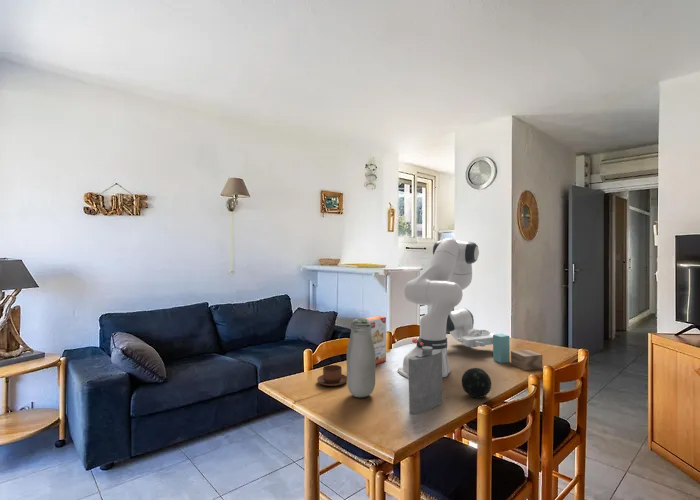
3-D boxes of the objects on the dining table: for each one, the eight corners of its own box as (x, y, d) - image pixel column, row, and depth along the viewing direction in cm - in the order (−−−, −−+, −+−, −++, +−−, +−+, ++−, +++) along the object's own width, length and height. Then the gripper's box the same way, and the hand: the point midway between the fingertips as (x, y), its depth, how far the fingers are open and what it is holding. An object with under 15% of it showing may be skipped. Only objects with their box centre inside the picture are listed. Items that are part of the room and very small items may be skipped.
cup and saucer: (311, 383, 155) (311, 367, 155) (335, 376, 163) (334, 361, 163) (329, 391, 146) (329, 374, 146) (353, 383, 153) (353, 368, 153)
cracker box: (367, 368, 172) (366, 320, 172) (357, 365, 177) (356, 319, 176) (387, 360, 182) (386, 316, 182) (377, 358, 187) (376, 315, 186)
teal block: (500, 363, 176) (500, 336, 176) (493, 360, 181) (492, 334, 181) (509, 362, 178) (509, 335, 178) (501, 359, 182) (501, 333, 182)
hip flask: (436, 398, 137) (435, 341, 136) (446, 402, 134) (445, 343, 133) (407, 412, 126) (406, 350, 126) (417, 415, 123) (416, 352, 123)
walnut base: (524, 370, 166) (524, 356, 166) (511, 364, 175) (510, 351, 175) (542, 368, 168) (542, 354, 168) (527, 362, 177) (527, 349, 177)
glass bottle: (359, 403, 133) (358, 322, 133) (342, 394, 141) (341, 318, 141) (381, 396, 139) (380, 318, 139) (363, 388, 147) (362, 314, 147)
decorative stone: (467, 389, 145) (466, 362, 145) (494, 395, 139) (494, 367, 139) (457, 398, 137) (457, 369, 137) (486, 404, 131) (486, 374, 131)
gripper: (455, 333, 195) (473, 339, 182) (489, 329, 201) (508, 335, 188) (456, 345, 195) (473, 352, 182) (489, 342, 202) (508, 348, 188)
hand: (491, 343), depth 185 cm, fingers open, 8 cm apart
